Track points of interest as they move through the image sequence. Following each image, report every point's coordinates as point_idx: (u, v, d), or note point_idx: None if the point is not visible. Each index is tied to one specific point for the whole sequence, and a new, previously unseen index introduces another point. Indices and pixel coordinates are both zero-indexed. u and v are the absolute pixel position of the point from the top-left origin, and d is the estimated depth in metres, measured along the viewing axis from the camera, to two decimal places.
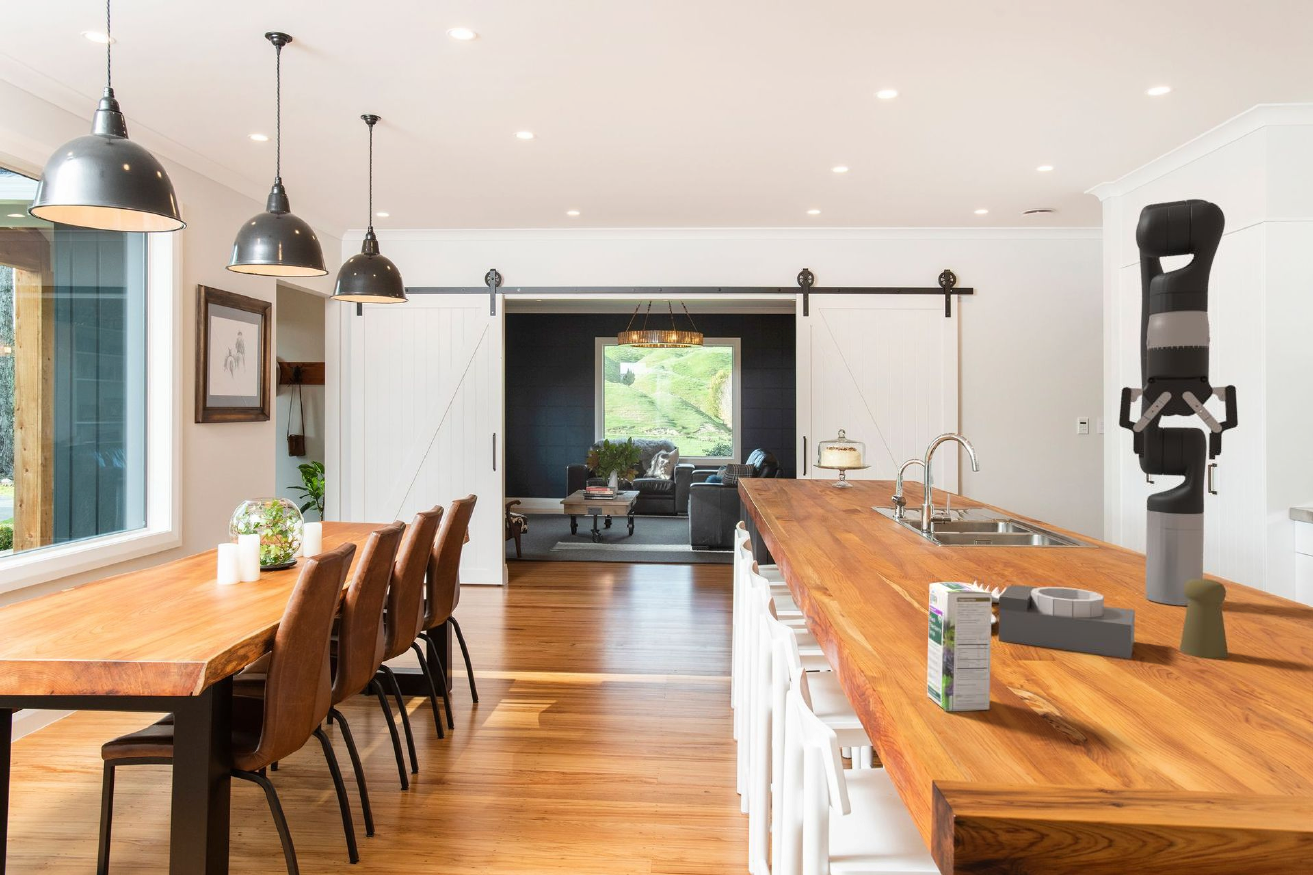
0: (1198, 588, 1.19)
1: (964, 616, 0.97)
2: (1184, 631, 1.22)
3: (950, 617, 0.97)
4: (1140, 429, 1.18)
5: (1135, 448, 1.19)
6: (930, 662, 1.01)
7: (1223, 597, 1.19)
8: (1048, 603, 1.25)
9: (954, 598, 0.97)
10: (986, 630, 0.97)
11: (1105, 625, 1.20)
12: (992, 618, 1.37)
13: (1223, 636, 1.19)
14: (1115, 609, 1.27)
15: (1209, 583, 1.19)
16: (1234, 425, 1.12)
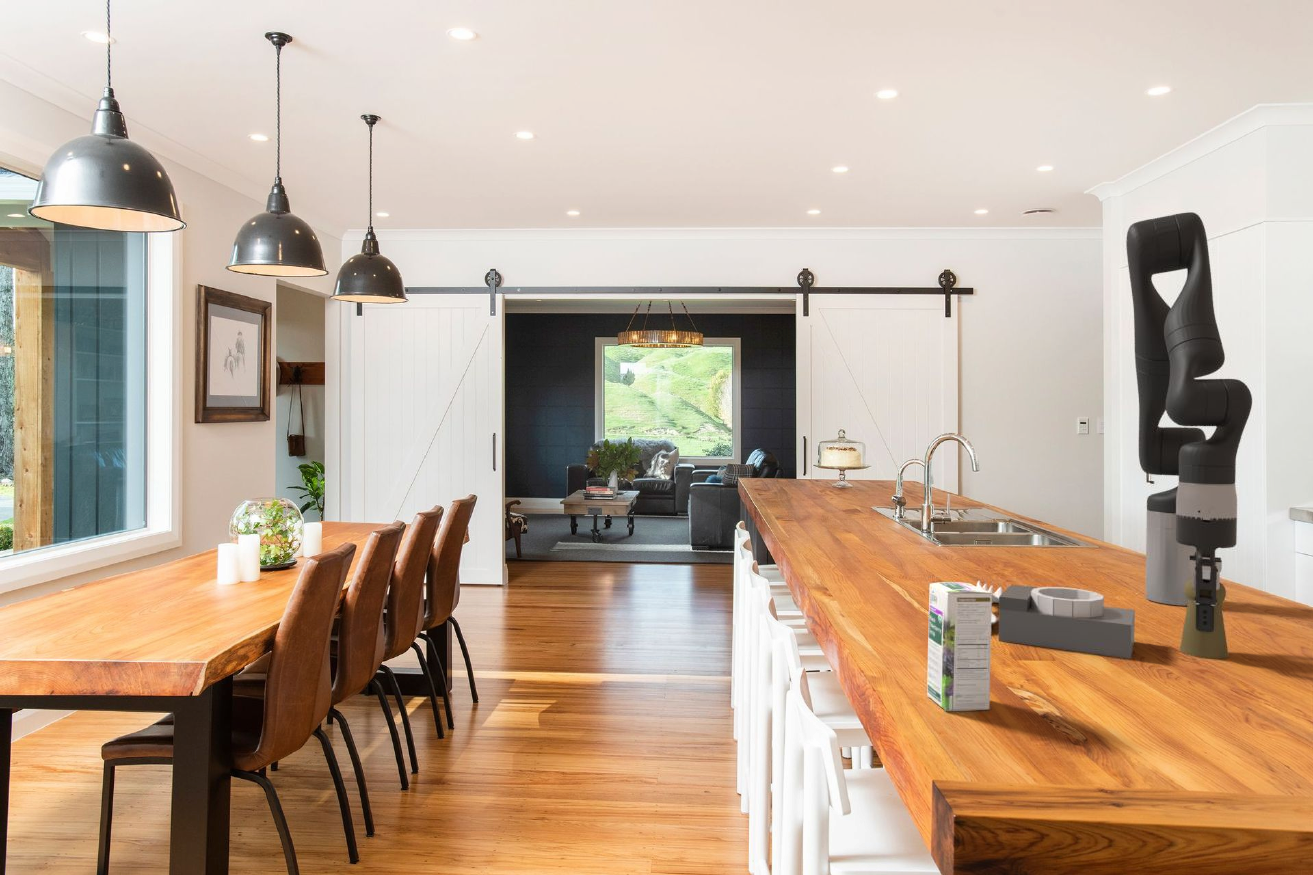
0: None
1: (964, 617, 0.97)
2: (1184, 631, 1.22)
3: (951, 617, 0.97)
4: None
5: (1210, 623, 1.18)
6: (930, 662, 1.01)
7: (1223, 597, 1.19)
8: (1048, 603, 1.25)
9: (955, 598, 0.97)
10: (986, 630, 0.97)
11: (1105, 625, 1.20)
12: (992, 618, 1.37)
13: (1223, 636, 1.19)
14: (1115, 609, 1.27)
15: None
16: None
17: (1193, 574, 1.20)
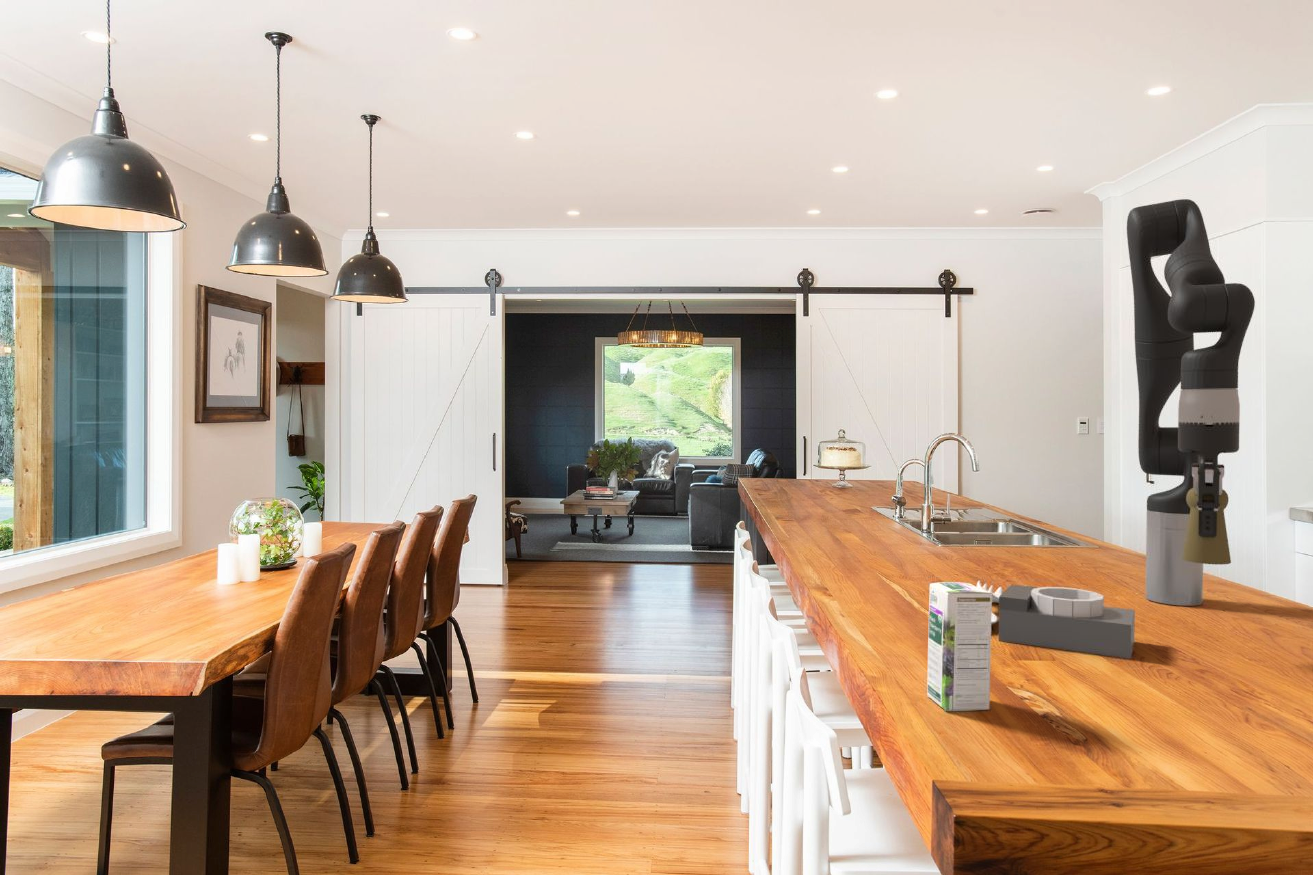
0: None
1: (964, 617, 0.97)
2: (1187, 539, 1.21)
3: (951, 617, 0.97)
4: (1217, 508, 1.18)
5: None
6: (930, 662, 1.01)
7: (1226, 503, 1.18)
8: (1048, 603, 1.25)
9: (955, 598, 0.97)
10: (986, 630, 0.97)
11: (1105, 625, 1.20)
12: (993, 618, 1.37)
13: (1226, 542, 1.19)
14: (1115, 609, 1.27)
15: None
16: None
17: (1196, 480, 1.19)
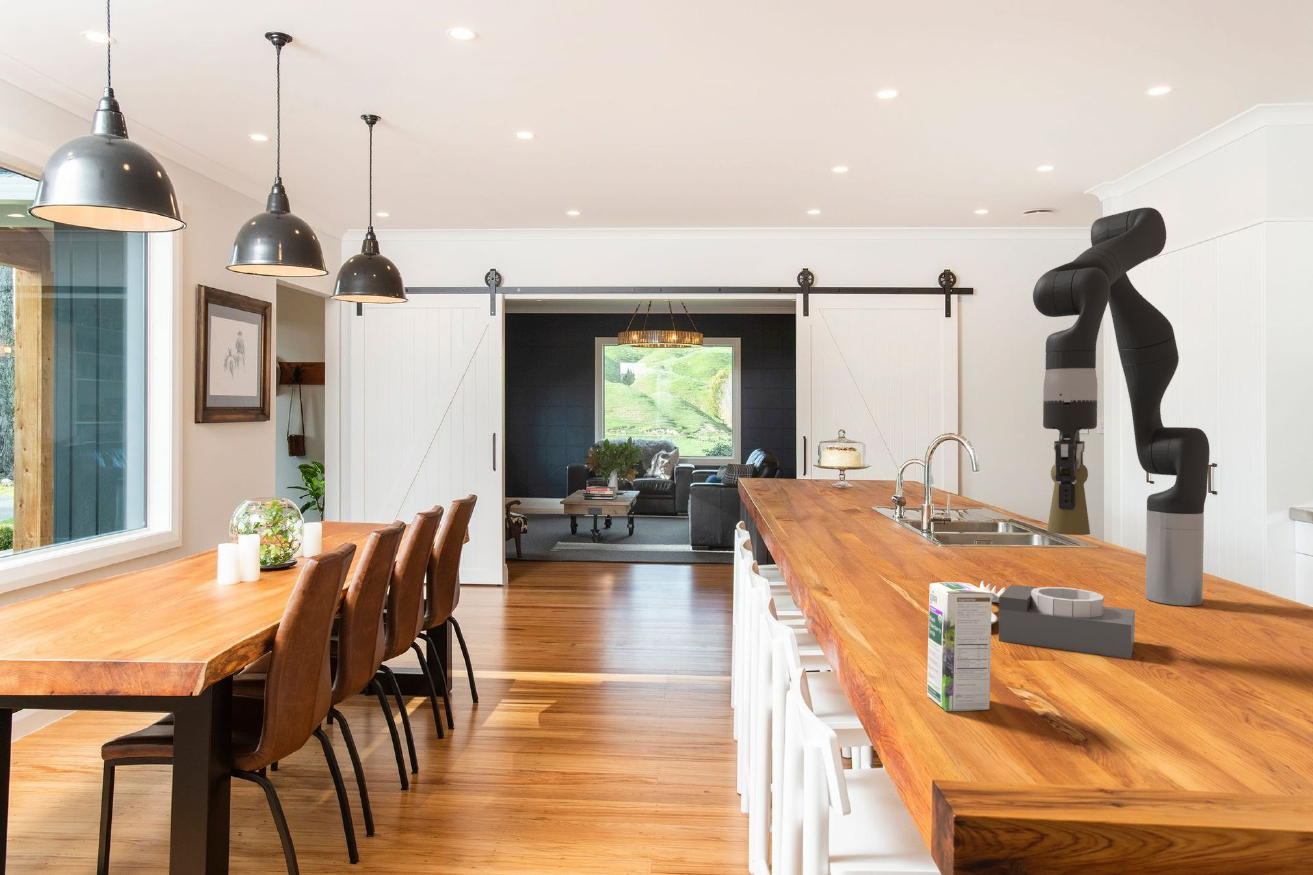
0: None
1: (964, 617, 0.97)
2: (1050, 512, 1.28)
3: (950, 617, 0.97)
4: None
5: (1071, 500, 1.24)
6: (930, 662, 1.01)
7: (1084, 477, 1.25)
8: (1048, 603, 1.25)
9: (954, 598, 0.97)
10: (986, 630, 0.97)
11: (1105, 625, 1.20)
12: (993, 618, 1.37)
13: (1084, 514, 1.25)
14: (1115, 609, 1.27)
15: None
16: None
17: None
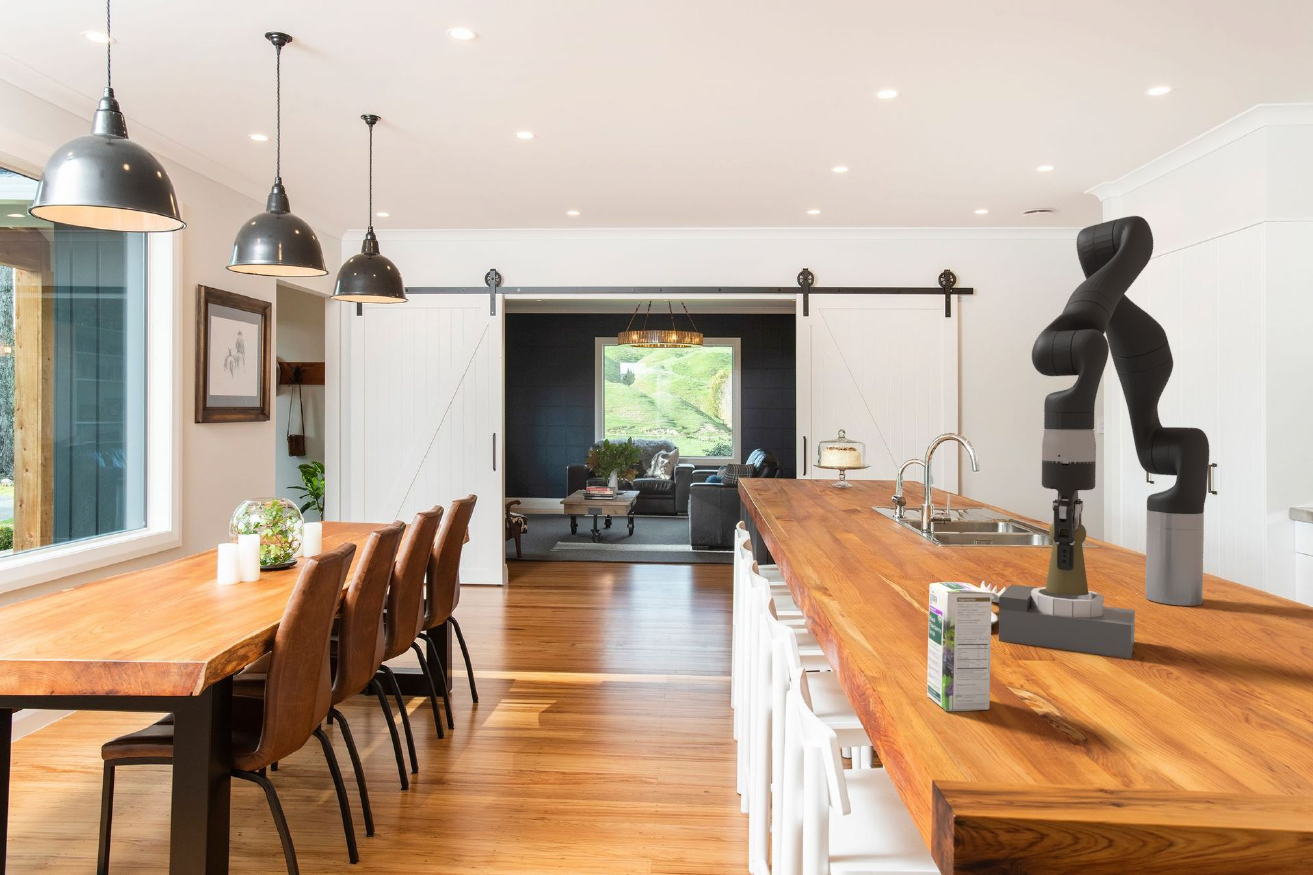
0: None
1: (964, 616, 0.97)
2: (1049, 571, 1.28)
3: (950, 617, 0.97)
4: None
5: (1069, 561, 1.24)
6: (930, 662, 1.01)
7: (1083, 537, 1.25)
8: (1048, 603, 1.25)
9: (954, 598, 0.97)
10: (986, 630, 0.97)
11: (1105, 625, 1.20)
12: (993, 618, 1.37)
13: (1083, 574, 1.25)
14: (1115, 609, 1.27)
15: None
16: None
17: None
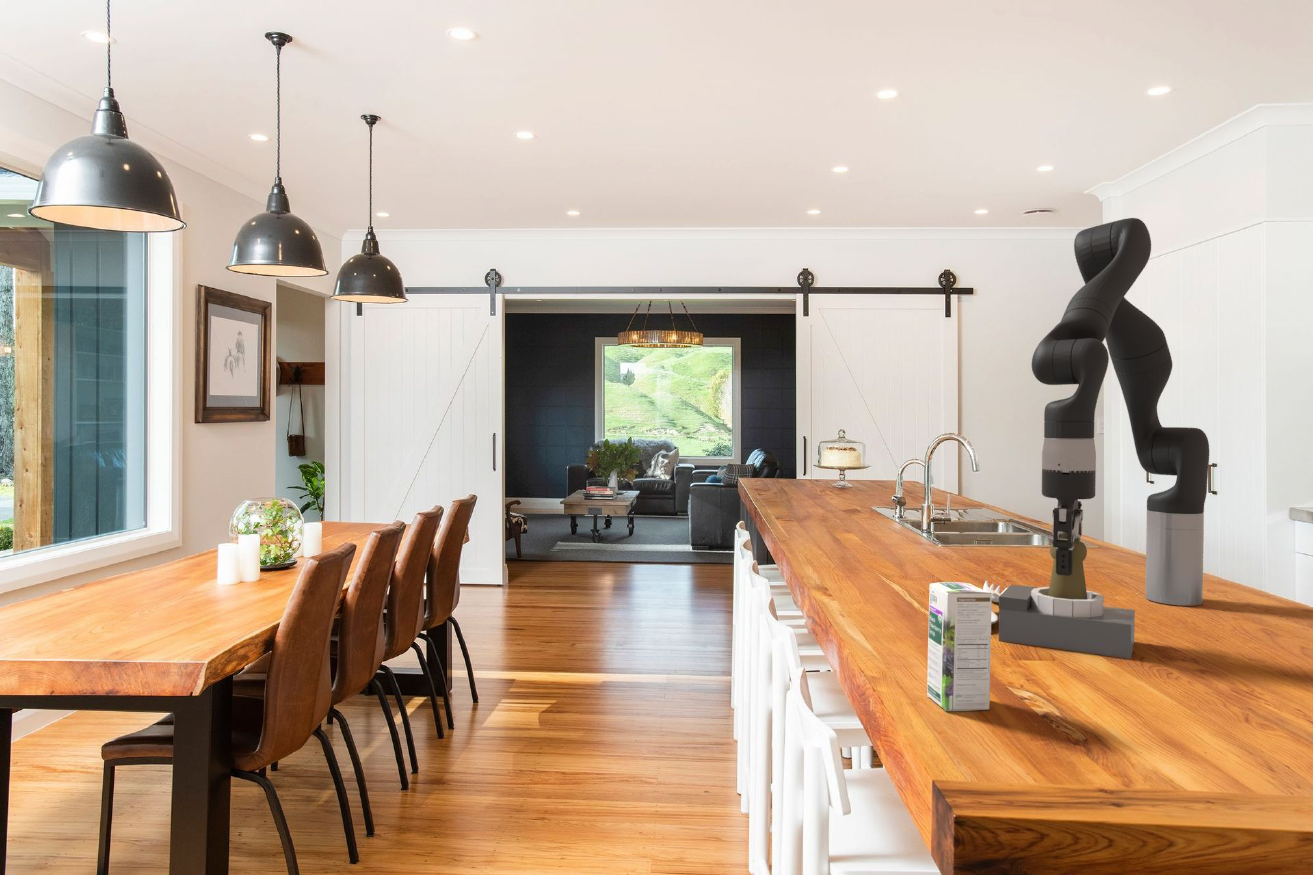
0: None
1: (964, 617, 0.97)
2: (1049, 589, 1.28)
3: (950, 617, 0.97)
4: None
5: (1068, 566, 1.23)
6: (930, 662, 1.01)
7: (1083, 555, 1.25)
8: (1048, 603, 1.25)
9: (954, 598, 0.97)
10: (986, 630, 0.97)
11: (1105, 625, 1.20)
12: (993, 617, 1.37)
13: (1084, 592, 1.25)
14: (1115, 609, 1.27)
15: None
16: (1080, 535, 1.32)
17: None
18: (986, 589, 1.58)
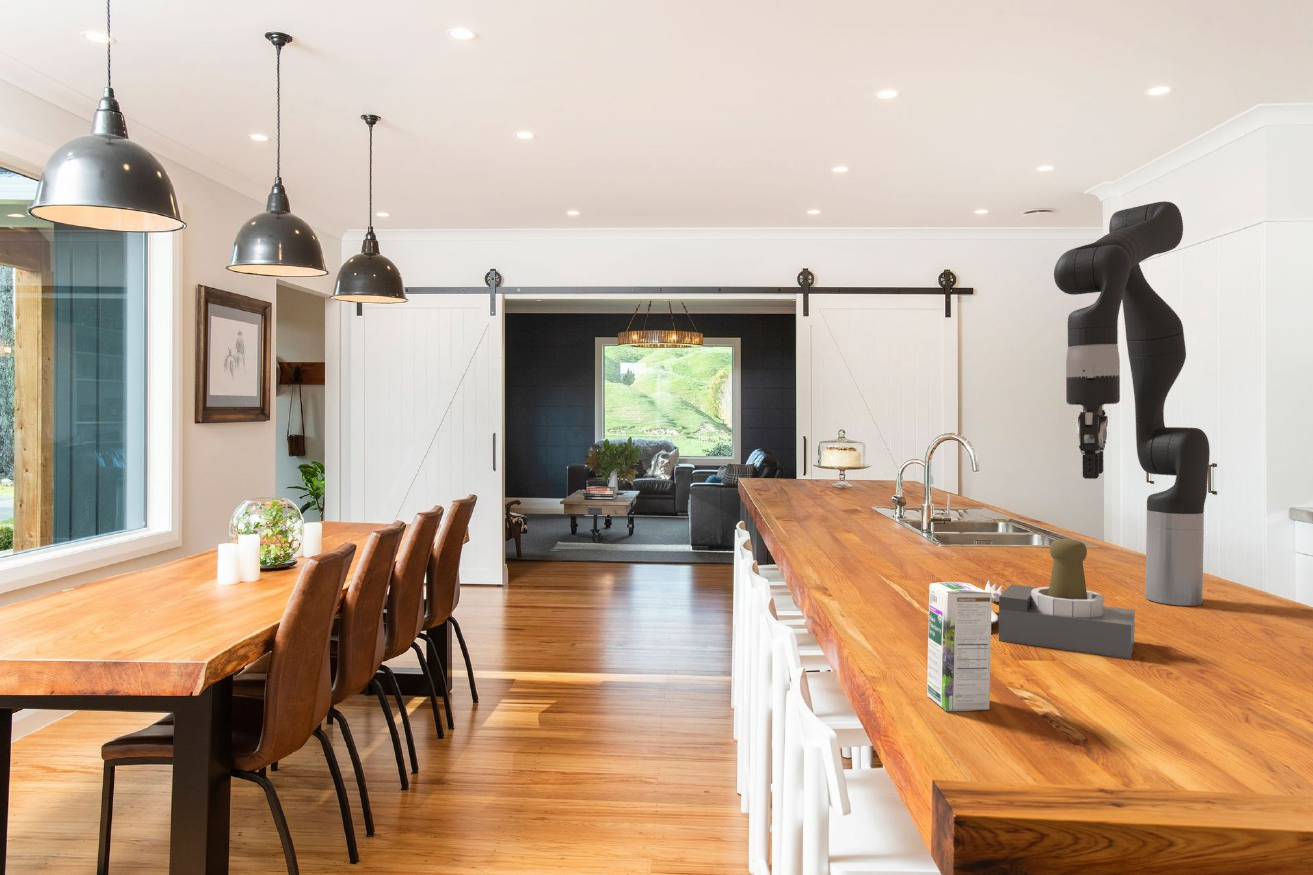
0: (1061, 547, 1.26)
1: (964, 617, 0.97)
2: (1049, 589, 1.28)
3: (950, 617, 0.97)
4: (1099, 451, 1.25)
5: (1095, 469, 1.25)
6: (930, 662, 1.01)
7: (1083, 555, 1.25)
8: (1048, 603, 1.25)
9: (954, 598, 0.97)
10: (986, 630, 0.97)
11: (1105, 625, 1.20)
12: (994, 617, 1.37)
13: (1084, 592, 1.25)
14: (1115, 609, 1.27)
15: (1070, 542, 1.26)
16: (1105, 443, 1.34)
17: None
18: (988, 589, 1.58)
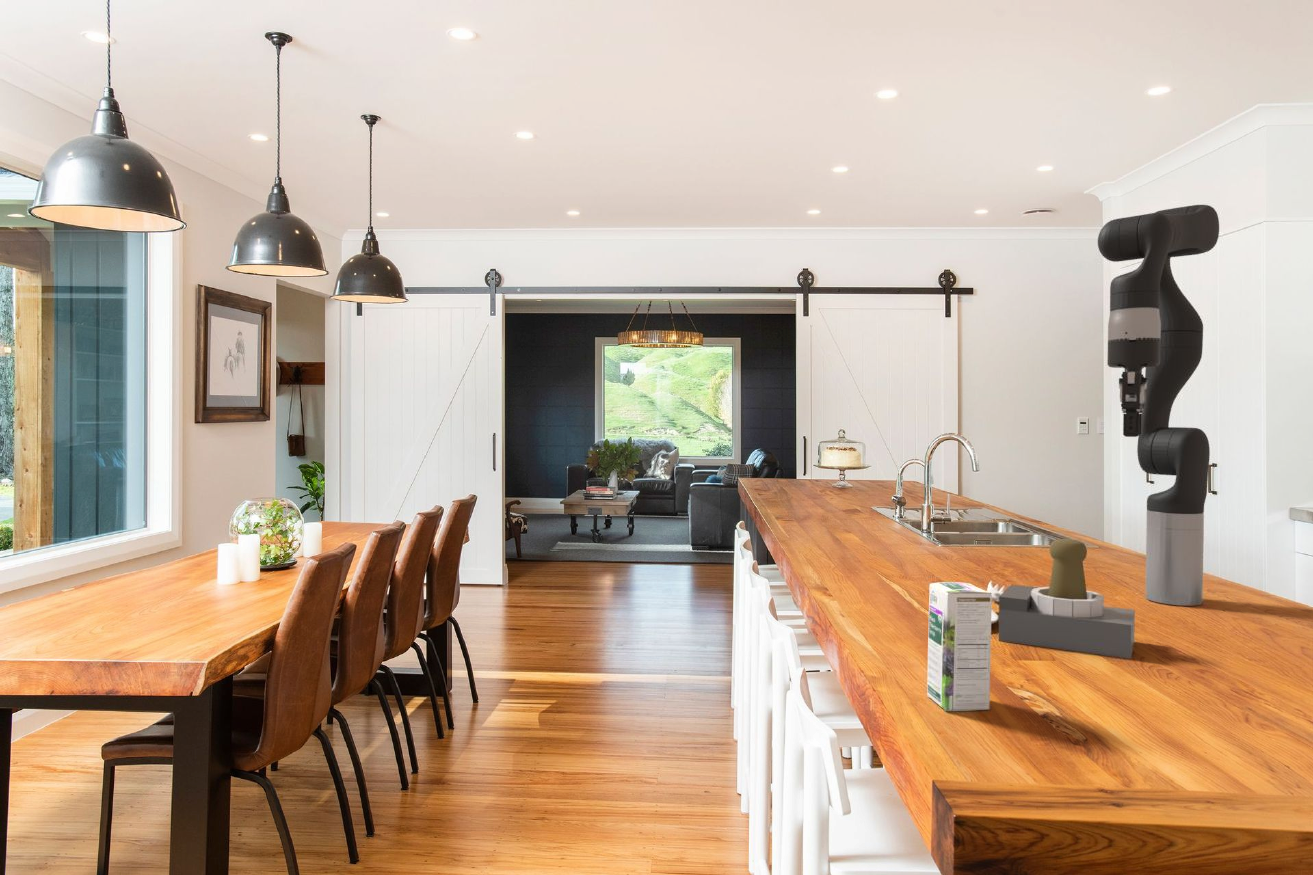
0: (1061, 547, 1.26)
1: (964, 617, 0.97)
2: (1049, 589, 1.28)
3: (950, 617, 0.97)
4: (1140, 410, 1.30)
5: (1135, 428, 1.30)
6: (930, 662, 1.01)
7: (1083, 555, 1.25)
8: (1048, 603, 1.25)
9: (954, 598, 0.97)
10: (986, 630, 0.97)
11: (1105, 625, 1.20)
12: (994, 617, 1.37)
13: (1084, 592, 1.25)
14: (1115, 609, 1.27)
15: (1070, 542, 1.26)
16: (1143, 407, 1.39)
17: (1121, 388, 1.32)
18: (990, 589, 1.57)
